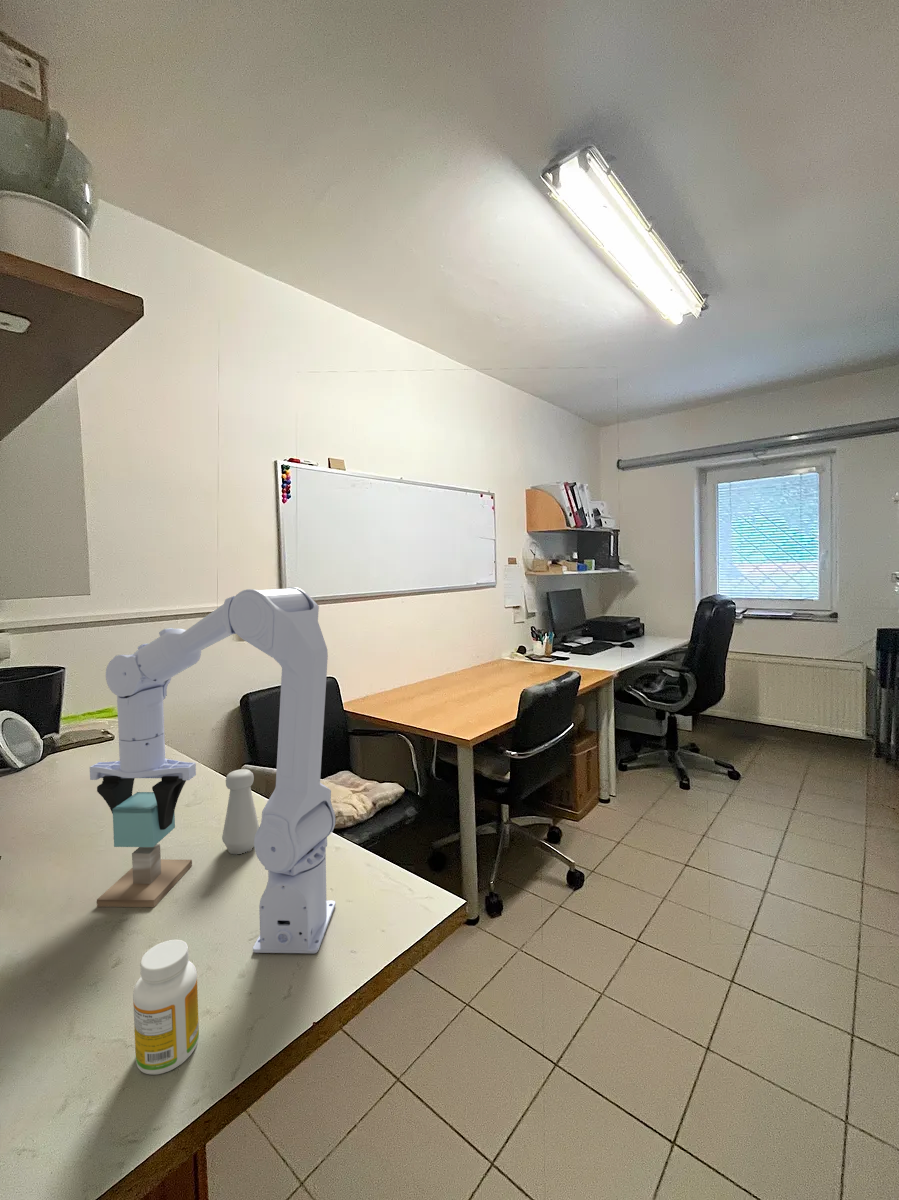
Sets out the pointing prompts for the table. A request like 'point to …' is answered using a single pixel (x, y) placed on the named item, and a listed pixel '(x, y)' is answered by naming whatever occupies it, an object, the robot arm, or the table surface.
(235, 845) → the salt shaker
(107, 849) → the table surface
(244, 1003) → the table surface
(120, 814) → the teal lidded box
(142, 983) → the supplement bottle
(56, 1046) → the table surface
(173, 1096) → the table surface
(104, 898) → the post base
